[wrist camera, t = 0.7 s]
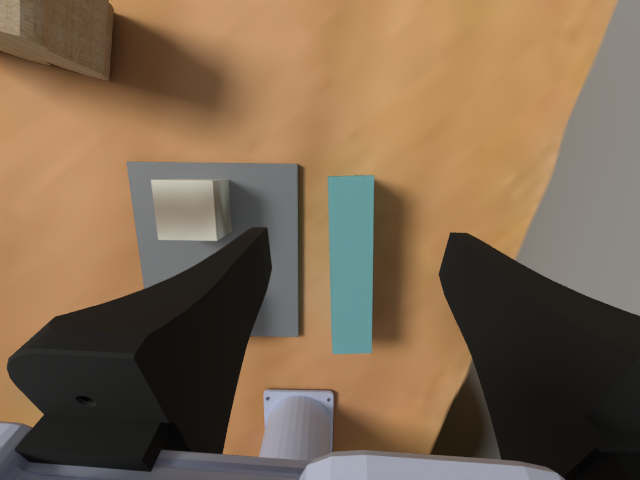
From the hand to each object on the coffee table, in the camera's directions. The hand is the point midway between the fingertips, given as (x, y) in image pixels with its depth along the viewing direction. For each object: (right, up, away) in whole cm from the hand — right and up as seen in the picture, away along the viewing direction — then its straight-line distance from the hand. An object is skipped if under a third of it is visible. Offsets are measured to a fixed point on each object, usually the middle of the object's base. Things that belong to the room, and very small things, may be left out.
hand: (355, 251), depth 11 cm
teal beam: (+1, -1, +18) cm, 18 cm away
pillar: (-13, +4, +16) cm, 21 cm away
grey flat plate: (-12, -1, +18) cm, 21 cm away
